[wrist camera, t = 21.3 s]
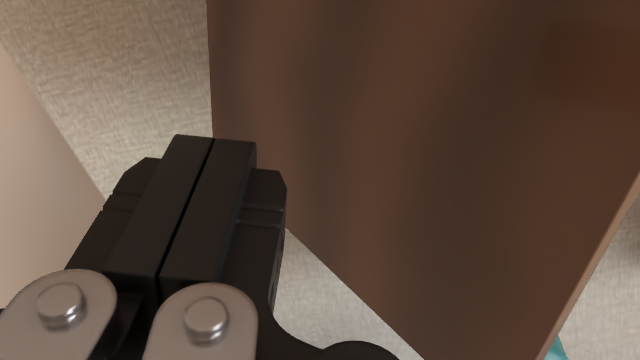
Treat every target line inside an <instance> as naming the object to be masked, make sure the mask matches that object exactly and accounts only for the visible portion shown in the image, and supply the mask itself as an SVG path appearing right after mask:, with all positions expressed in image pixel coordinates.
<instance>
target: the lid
mask: <svg viewBox="0 0 640 360" xmlns="http://www.w3.org/2000/svg"><path fill="white" fill-rule="evenodd" d="M206 4H207V25H208V46H209V67H210V88H211V109H212V130H213V138H215V139H217V138H221V139H231V140H240V141H250V142H256V145H257V168H258V169H268V170H277V171H280V173H281V176H282V178H283V180H284V182H285V185H286V187H287V202H286V220H285V227H286V228H287V229H288V230H289V231H290V232H291V233H292V234H293V235H294V236H295V237H296V238H297V239H298V240H299V241H301V242H302V243H303V244H304V245H305V246H306V247H307V248H308V249H309V250H310V251H311V252H312V253H313V254H314V255H315V256H316V257H317V258H318V259H319V260H320V261H322V262H323V263H324V264H325V265H326V266H327V267H328V268H329V269H330V270H331V271H332V272H333V273H334V274H335V275H336V276H337V277H338V278H339V279H340V280H341V281H342V282H344V283H345V284H346V285H347V286H348V287H349V288H350V289H351V290H352V291H353V292H354V293H355V294H356V295H357V296H358V297H359V298H360V299H361V300H362V301H363V302H365V303H366V304H367V305H368V306H369V307H370V308H371V309H372V310H373V311H374V312H375V313H376V314H377V315H378V316H379V317H380V318H381V319H382V320H383V321H384V322H386V323H387V324H388V325H389V326H390V327H391V328H392V329H393V330H394V331H395V332H396V333H397V334H398V335H399V336H400V337H401V338H402V339H403V340H404V341H405V342H406V343H408V344H409V345H410V346H411V347H412V348H413V349H414V350H415V351H416V352H417V353H418V354H419V355H420V356H421V357H422V358H423V359H424V360H544V358H545V356H546V355H547V353H548V351H549V349H550V348H551V346H552V344H553V342H554V341H555V339H556V337H557V335H558V334H559V332H560V330H561V328H562V327H563V325H564V323H565V321H566V320H567V318H568V316H569V314H570V312H571V311H572V309H573V307H574V305H575V304H576V302H577V300H578V298H579V297H580V295H581V293H582V291H583V290H584V288H585V286H586V284H587V283H588V281H589V279H590V277H591V276H592V274H593V272H594V270H595V269H596V267H597V265H598V263H599V261H600V260H601V258H602V256H603V254H604V253H605V251H606V249H607V247H608V246H609V244H610V242H611V240H612V239H613V237H614V235H615V233H616V232H617V230H618V228H619V226H620V225H621V223H622V221H623V219H624V218H625V216H626V214H627V212H628V211H629V209H630V207H631V205H632V203H633V202H634V200H635V198H636V196H637V195H638V193H639V191H640V0H206Z"/></svg>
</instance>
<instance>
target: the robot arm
mask: <svg viewBox="0 0 640 360" xmlns="http://www.w3.org/2000/svg"><path fill="white" fill-rule="evenodd" d="M286 202H287V187H286V185H285V182H284V180H283V178H282V176H281V173H280V171H277V170H268V169H258V168H257V145H256V142H250V141H240V140H231V139H221V138H217V139H215V138H210V137H200V136H190V135H180V134H176V135H175V136H174V137H173V139H172V141H171V143H170V144H169V146H168V148H167V150H166V152H165V154H164V155H163V157H162V159H158V158H148V157H145V158H144V159H142V160H141V161H140V162H138V163H137V164H135V165H134V166H132V167H131V168H130V169H128V170H127V171H125V172H124V174H123V175H122V177H121V179H120V180H119V182H118V183H117V185H116V187H115V188H114V190H113V194H112V195H110V196H109V198H108V199H107V201H106V203H105V204H104V206H103V211H100V212H99V214H98V216H97V217H96V219H95V220H94V222H93V223H92V225H91V227H90V228H89V230H88V232H87V233H86V235H85V236H84V238H83V239H82V241H81V243H80V244H79V246H78V248H77V249H76V251H75V252H74V254H73V256H72V257H71V259H70V260H69V262H68V264H67V265H66V267H65V269H64V270H61V271H57V272H53V273H50V274H48V275H45V276H43V277H40V278H38V279H37V280H34V281H33V282H31V283H30V284H28V285H27V286H25V287H24V288H23V289H22V290H21V291H19V292H18V294H16V296H15V297H14V298H13V299H12V300H11V301H10V303H9V304H8V305H7V306H6V308H3V309H0V360H399V359H398V358H397V357H396V356H395V355H393V354H392V353H391V352H389V351H388V350H386V349H384V348H382V347H380V346H378V345H375V344H372V343H369V342H364V341H343V342H339V343H336V344H333V345H331V346H329V347H327V348H325V349H324V350H322V349H319V348H317V347H314V346H312V345H310V344H307V343H305V342H303V341H301V340H299V339H297V338H295V337H293V336H291V335H290V334H289V333H287V332H286V331H285V330H284V329H283V328H282V327H281V326H280V325H279V324H278V323H277V322H276V320H275V319H274V317H273V310H274V304H275V298H276V292H277V285H278V280H279V274H280V268H281V262H282V256H283V250H284V238H285V220H286Z"/></svg>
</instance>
